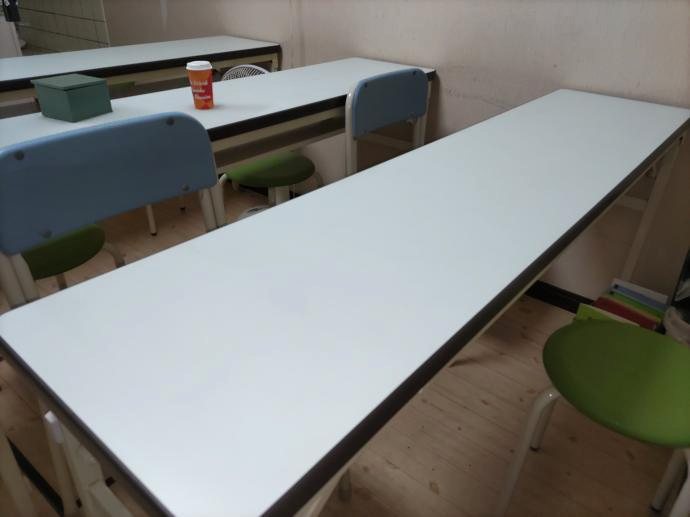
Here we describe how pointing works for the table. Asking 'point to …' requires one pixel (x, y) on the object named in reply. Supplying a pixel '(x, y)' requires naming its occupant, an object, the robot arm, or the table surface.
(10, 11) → the robot arm
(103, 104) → the bin
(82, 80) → the bin lid
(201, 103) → the paper cup
